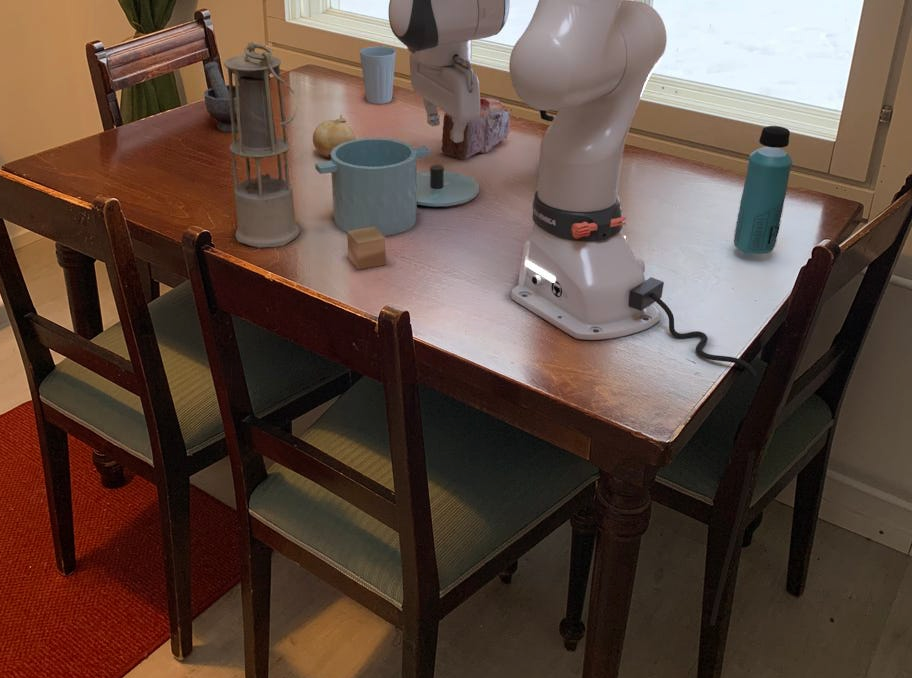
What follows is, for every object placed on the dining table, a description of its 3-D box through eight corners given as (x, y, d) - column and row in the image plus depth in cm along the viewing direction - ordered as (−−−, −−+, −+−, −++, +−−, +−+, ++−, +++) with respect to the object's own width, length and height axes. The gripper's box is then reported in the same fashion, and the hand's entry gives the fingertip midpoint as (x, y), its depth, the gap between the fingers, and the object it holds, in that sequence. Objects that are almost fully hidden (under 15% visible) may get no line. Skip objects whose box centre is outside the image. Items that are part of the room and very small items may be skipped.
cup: (369, 107, 214) (368, 57, 208) (355, 97, 220) (354, 48, 214) (402, 103, 217) (401, 53, 211) (387, 93, 223) (386, 44, 217)
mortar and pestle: (265, 126, 204) (259, 66, 197) (227, 137, 199) (220, 76, 192) (232, 113, 211) (225, 55, 204) (194, 124, 205) (186, 64, 198)
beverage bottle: (766, 267, 153) (793, 139, 142) (724, 257, 156) (747, 131, 145) (778, 251, 158) (806, 126, 147) (737, 241, 161) (761, 118, 149)
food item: (479, 134, 201) (480, 85, 195) (512, 143, 197) (514, 93, 191) (437, 153, 192) (437, 102, 187) (470, 163, 188) (472, 111, 183)
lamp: (273, 215, 168) (257, 29, 151) (323, 239, 161) (311, 47, 144) (222, 233, 162) (198, 42, 145) (271, 259, 155) (252, 61, 138)
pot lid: (493, 201, 174) (494, 175, 171) (416, 215, 169) (416, 189, 166) (455, 172, 185) (456, 147, 182) (382, 184, 179) (381, 159, 177)
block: (386, 264, 154) (385, 237, 151) (358, 270, 152) (357, 242, 149) (375, 252, 157) (374, 226, 154) (348, 258, 155) (346, 231, 153)
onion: (339, 165, 187) (337, 127, 183) (305, 156, 191) (302, 119, 187) (363, 152, 193) (362, 115, 189) (330, 144, 196) (328, 108, 192)
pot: (444, 225, 165) (445, 158, 159) (335, 245, 159) (331, 176, 152) (411, 195, 176) (411, 131, 169) (308, 213, 169) (303, 147, 162)
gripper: (490, 61, 156) (489, 148, 163) (436, 32, 171) (437, 113, 179) (454, 66, 154) (454, 154, 161) (402, 37, 169) (404, 118, 177)
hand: (444, 132), depth 170 cm, fingers open, 8 cm apart
